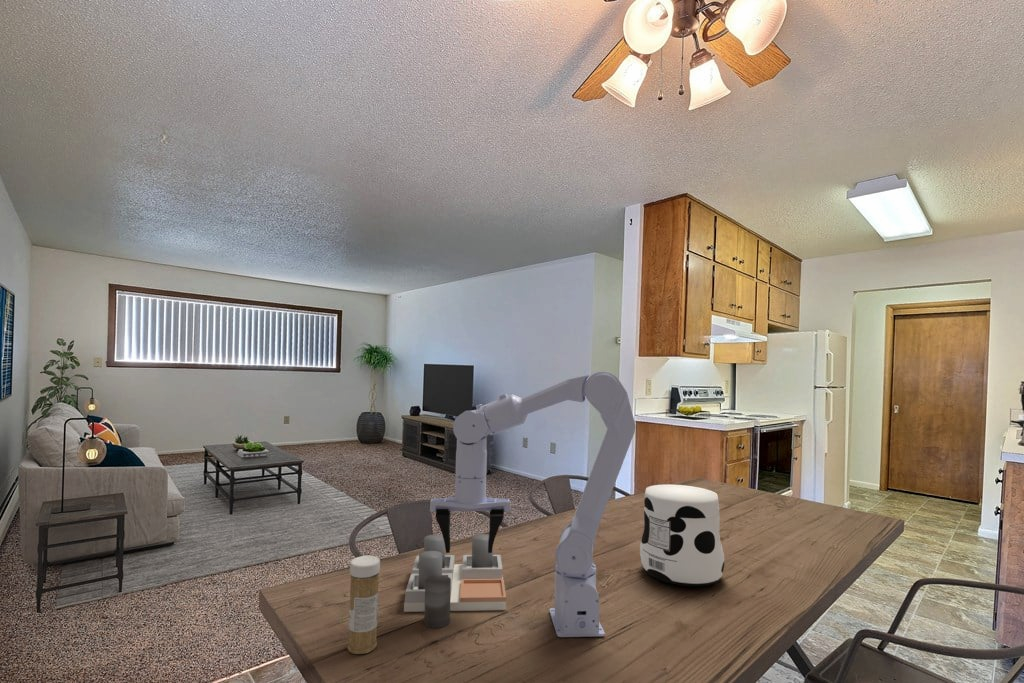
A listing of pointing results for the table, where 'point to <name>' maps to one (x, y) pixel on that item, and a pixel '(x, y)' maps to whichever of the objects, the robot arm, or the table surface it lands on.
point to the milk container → (682, 535)
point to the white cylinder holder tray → (459, 576)
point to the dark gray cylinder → (437, 601)
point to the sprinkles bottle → (363, 604)
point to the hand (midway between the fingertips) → (469, 551)
